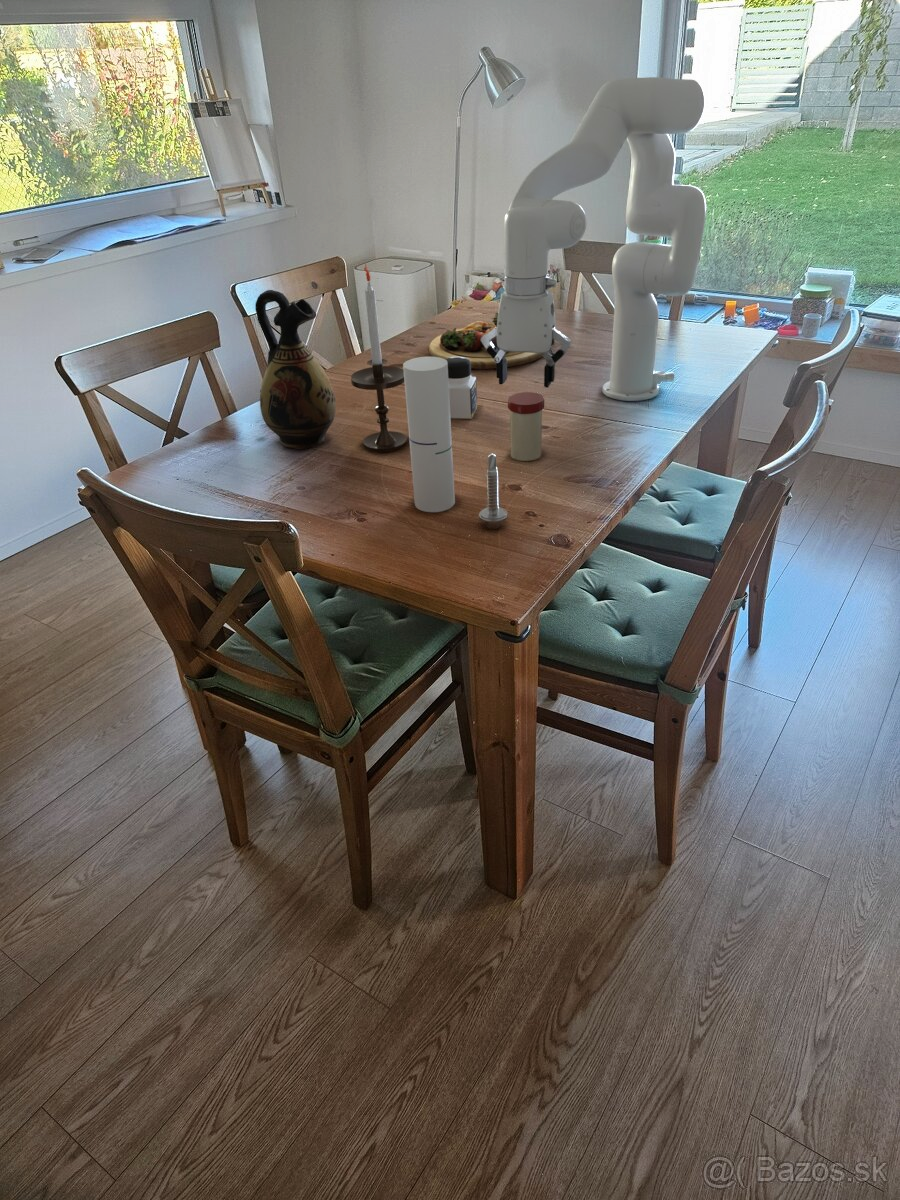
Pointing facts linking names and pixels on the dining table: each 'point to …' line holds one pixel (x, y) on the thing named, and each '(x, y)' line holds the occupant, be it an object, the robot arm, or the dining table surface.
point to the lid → (526, 403)
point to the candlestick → (378, 382)
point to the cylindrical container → (430, 432)
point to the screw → (493, 498)
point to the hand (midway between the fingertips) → (525, 383)
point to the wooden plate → (475, 346)
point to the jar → (526, 435)
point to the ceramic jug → (293, 378)
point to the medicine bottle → (461, 388)
